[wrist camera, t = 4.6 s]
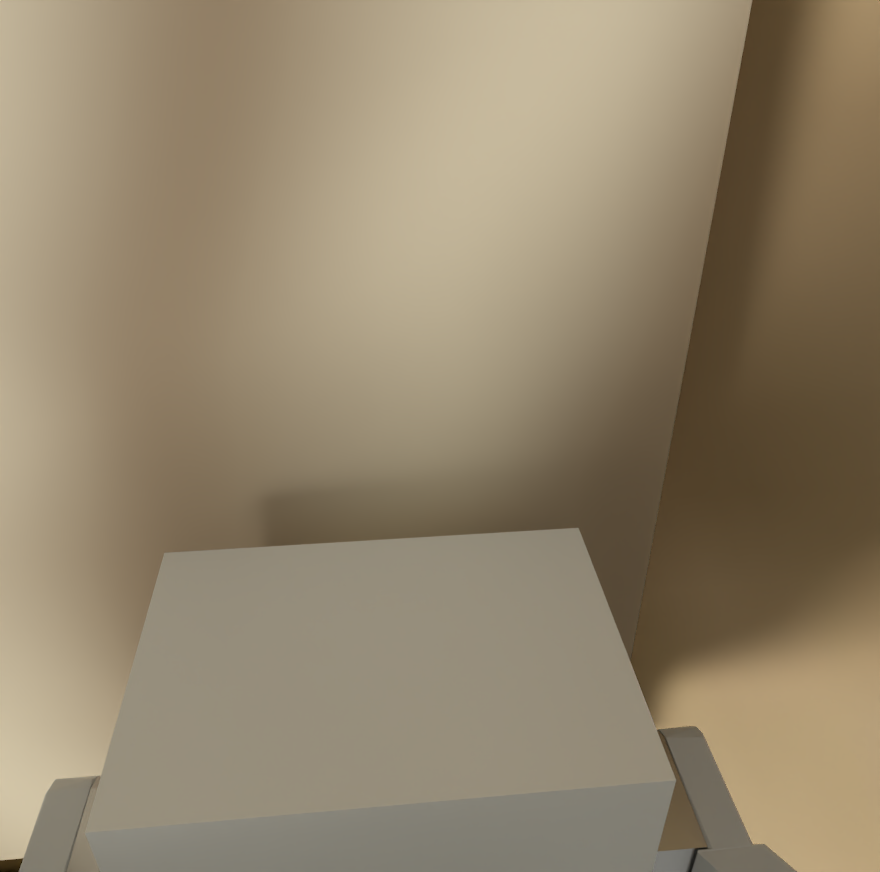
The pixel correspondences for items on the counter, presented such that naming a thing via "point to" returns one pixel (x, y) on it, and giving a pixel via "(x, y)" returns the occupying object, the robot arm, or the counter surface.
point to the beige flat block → (329, 300)
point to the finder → (383, 715)
